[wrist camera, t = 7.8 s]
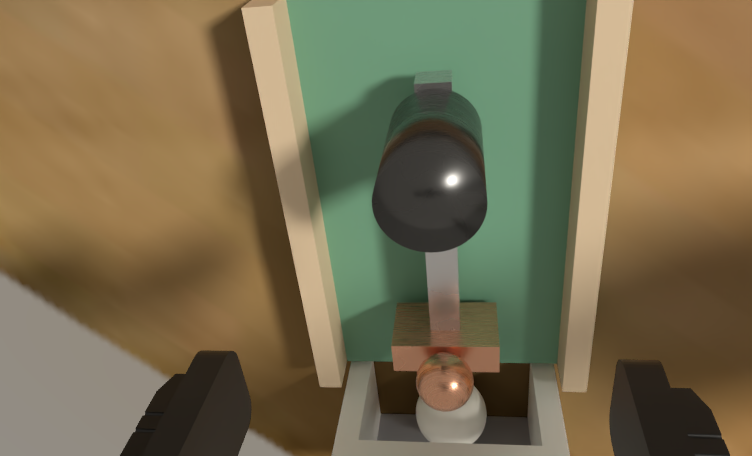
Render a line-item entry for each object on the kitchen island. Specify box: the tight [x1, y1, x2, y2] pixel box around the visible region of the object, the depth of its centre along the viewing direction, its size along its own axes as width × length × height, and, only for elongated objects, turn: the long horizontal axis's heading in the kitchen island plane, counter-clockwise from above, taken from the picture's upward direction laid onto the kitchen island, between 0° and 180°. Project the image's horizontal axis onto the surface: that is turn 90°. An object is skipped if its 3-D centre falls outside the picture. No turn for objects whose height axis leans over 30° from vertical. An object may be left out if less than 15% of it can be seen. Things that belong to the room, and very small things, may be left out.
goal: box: [332, 361, 570, 456], centre depth 34 cm, size 11×6×7 cm, turn 96°
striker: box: [372, 70, 500, 412], centre depth 25 cm, size 5×14×8 cm, turn 6°
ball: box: [416, 386, 487, 444], centre depth 34 cm, size 4×4×4 cm
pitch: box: [241, 0, 634, 392], centre depth 28 cm, size 14×20×3 cm
